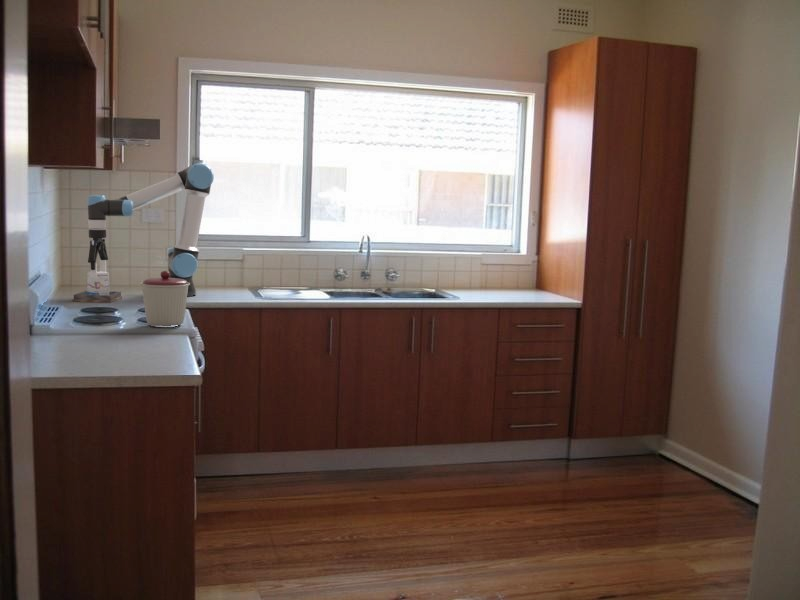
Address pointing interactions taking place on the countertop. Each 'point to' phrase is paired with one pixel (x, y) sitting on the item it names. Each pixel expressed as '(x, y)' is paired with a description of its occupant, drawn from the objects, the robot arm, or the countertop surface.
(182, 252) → the robot arm
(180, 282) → the canister
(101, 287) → the ink box
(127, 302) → the countertop surface
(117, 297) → the brown shallow square tray
